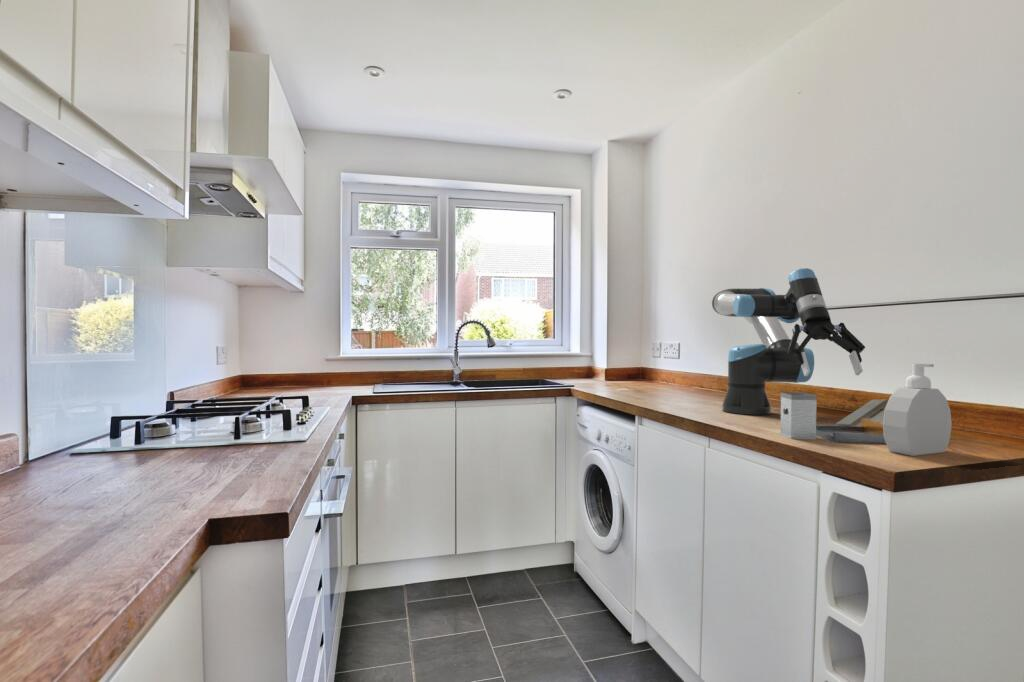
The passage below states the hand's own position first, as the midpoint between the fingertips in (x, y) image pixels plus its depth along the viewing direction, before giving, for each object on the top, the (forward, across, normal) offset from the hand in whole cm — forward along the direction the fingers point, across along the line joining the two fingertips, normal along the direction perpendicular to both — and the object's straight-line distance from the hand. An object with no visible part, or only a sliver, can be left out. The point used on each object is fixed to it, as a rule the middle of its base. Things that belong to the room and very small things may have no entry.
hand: (833, 373), depth 141 cm
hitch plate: (+21, -3, -4) cm, 22 cm away
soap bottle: (+29, +4, -16) cm, 34 cm away
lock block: (+21, -16, -5) cm, 27 cm away
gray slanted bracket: (+12, +12, +11) cm, 21 cm away
